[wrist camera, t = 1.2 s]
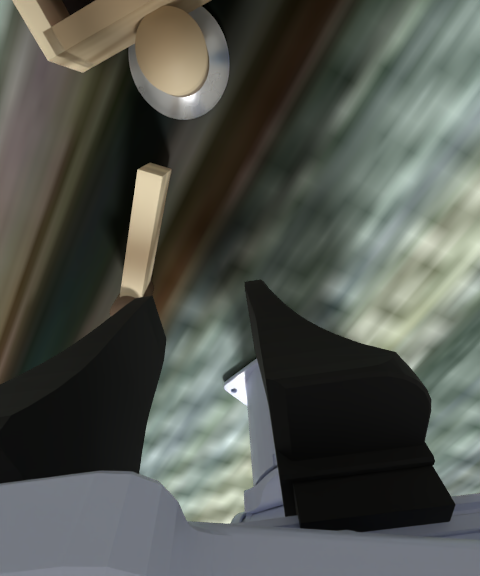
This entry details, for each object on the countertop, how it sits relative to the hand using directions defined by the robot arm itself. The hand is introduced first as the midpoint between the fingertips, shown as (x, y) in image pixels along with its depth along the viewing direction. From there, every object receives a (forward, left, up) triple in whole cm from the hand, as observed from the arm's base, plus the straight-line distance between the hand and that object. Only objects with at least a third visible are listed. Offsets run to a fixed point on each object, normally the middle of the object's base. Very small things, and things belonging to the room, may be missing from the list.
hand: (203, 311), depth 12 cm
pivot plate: (+7, -5, -9) cm, 13 cm away
